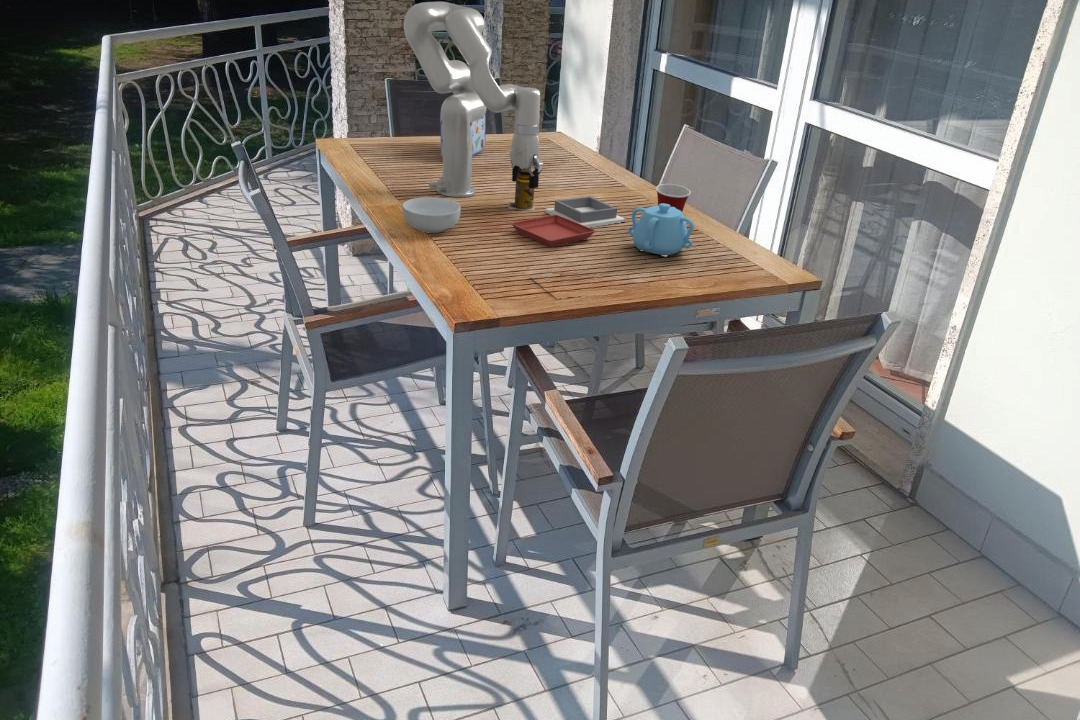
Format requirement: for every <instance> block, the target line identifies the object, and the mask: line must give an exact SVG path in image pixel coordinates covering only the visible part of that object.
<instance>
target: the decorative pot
mask: <svg viewBox="0 0 1080 720" xmlns="http://www.w3.org/2000/svg"><path fill="white" fill-rule="evenodd" d="M638 212H643V213H641V215H640V218H639V219H638V221H637V213H638ZM631 221H632V225H631V226H630V227H629V228H628V234H629V235H631V236H632V241H633V245H634V246H635V247H636V249H638V250H643V251H646V252H645V253H649V254H650V253H651V254H656V255H659V256H660V255H669V256H670V255H674V254H677V253H679V252H680V251H682V250H683V249H684V248H685V249H690V248H692V246H693V241H692V240H691V239H690V237H691V235H692V233H693V231H694V228H695V227H694V226H695V224H694V222H693V220H692V219H691V218H689V217H687V216H684V214H683V212H681V211H680V210H678V209H676V208H675V207H670V205H669V204H665V203H661V204H659V206H658V205H653V206H650V207H647V208H645V207H641V206H640V207H636V208H635V209H634V210H632V212H631ZM687 224H688V225H689V227H687ZM687 243H688V244H687Z"/></svg>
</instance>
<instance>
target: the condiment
mask: <svg viewBox="0 0 1080 720" xmlns="http://www.w3.org/2000/svg"><path fill="white" fill-rule="evenodd" d="M532 170H533V171H534V170H535V169H532ZM517 176H518V177H517V178H516V181H515V194H514V202H511V201H507V202H506V204H507V208H508V210H517V211H518V210H520V211H521V210H522V211H536V208H535V205H534V199H535V188H533V189H530V188H529V176H531V175H530V172H529V169H524V168H522V169H519V170H518V175H517Z"/></svg>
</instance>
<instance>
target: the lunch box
mask: <svg viewBox="0 0 1080 720" xmlns="http://www.w3.org/2000/svg"><path fill="white" fill-rule="evenodd" d="M486 113H487V112H486ZM486 113H485V115H484V116H483V117H482V118H481V119H479V120H477V121H474V122H471V123H470V127H471V131H472V137H473V145H472V158H473V157H474V156H476V155H477V154H479V153H481V152H482V151H484V149H485V146H486V141H487V140H486V136H487V135H486V118H487V117H486V116H487V114H486ZM439 131H440V156H441V158H442V159H443V124H442V118H441V111H440V113H439Z"/></svg>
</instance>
